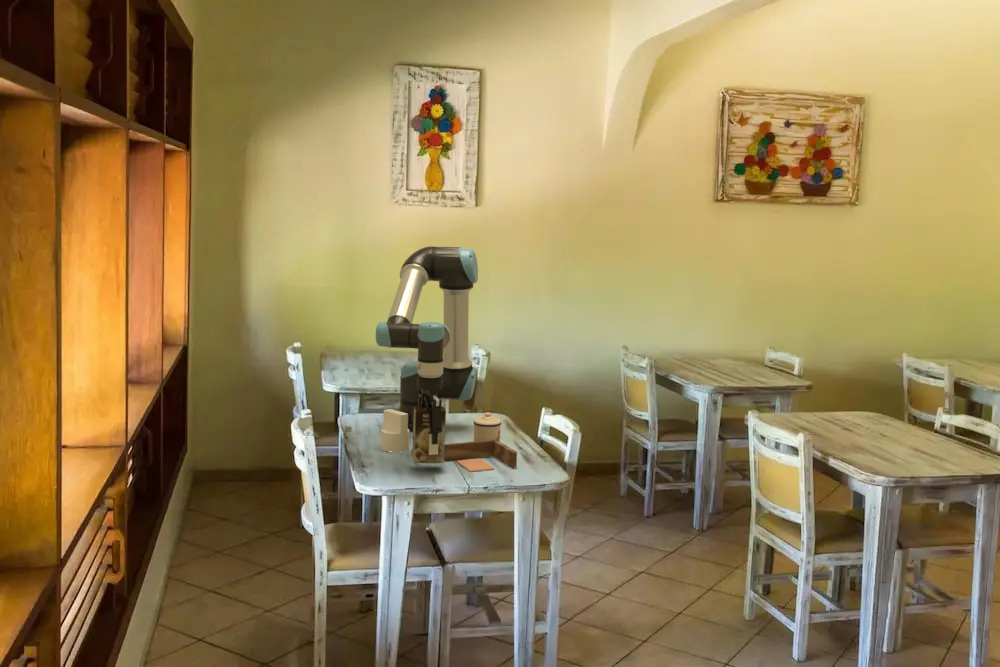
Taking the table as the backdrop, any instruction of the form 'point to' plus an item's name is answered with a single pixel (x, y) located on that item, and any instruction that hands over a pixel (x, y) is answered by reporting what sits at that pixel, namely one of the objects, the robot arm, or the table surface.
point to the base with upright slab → (395, 431)
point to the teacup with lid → (486, 428)
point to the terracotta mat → (475, 465)
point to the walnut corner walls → (481, 451)
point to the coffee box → (426, 437)
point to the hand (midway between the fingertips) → (428, 450)
